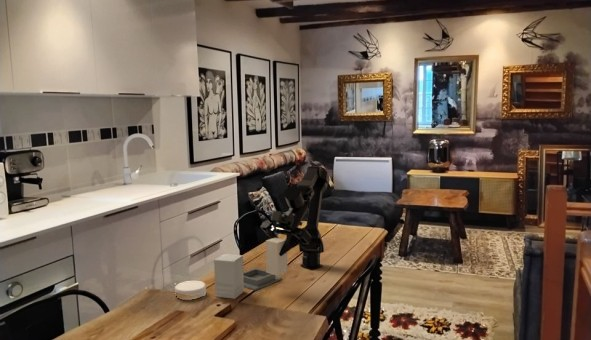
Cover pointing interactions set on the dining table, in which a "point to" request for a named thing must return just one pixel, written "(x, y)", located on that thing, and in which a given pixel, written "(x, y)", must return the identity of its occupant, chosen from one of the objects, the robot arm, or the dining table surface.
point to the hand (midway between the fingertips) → (273, 253)
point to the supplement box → (229, 276)
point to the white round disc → (191, 288)
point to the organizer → (258, 279)
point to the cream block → (275, 257)
